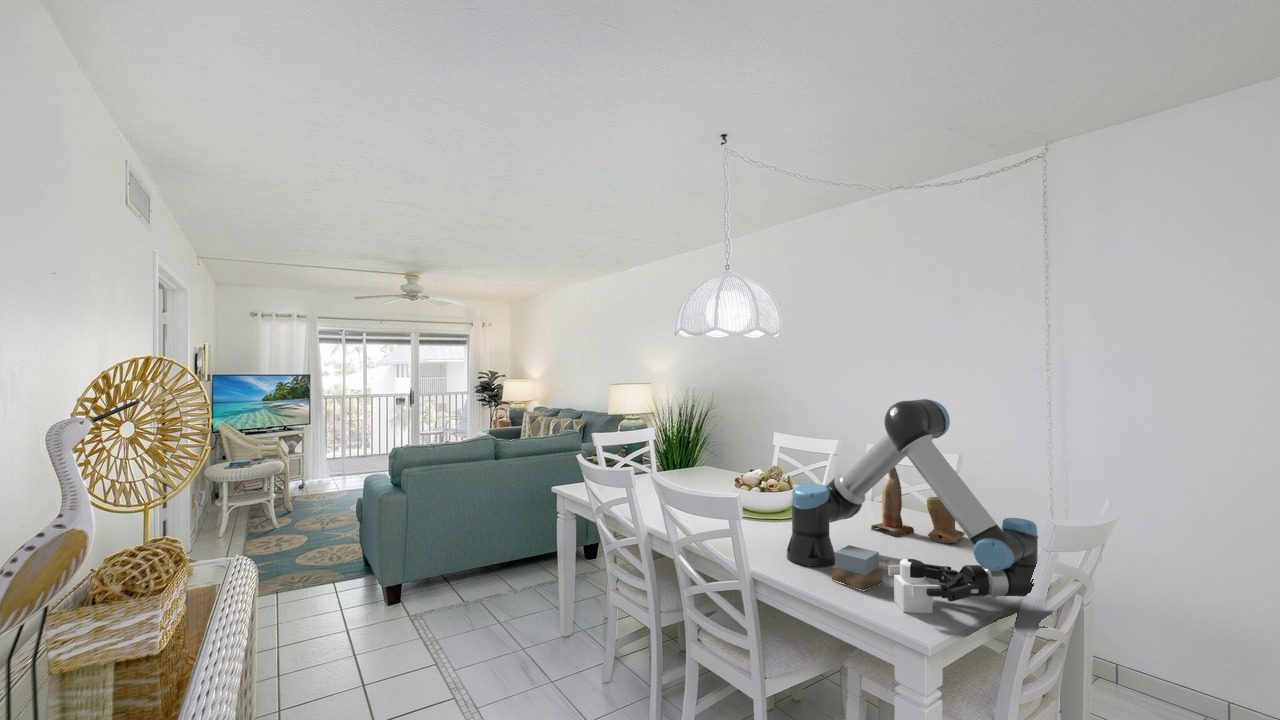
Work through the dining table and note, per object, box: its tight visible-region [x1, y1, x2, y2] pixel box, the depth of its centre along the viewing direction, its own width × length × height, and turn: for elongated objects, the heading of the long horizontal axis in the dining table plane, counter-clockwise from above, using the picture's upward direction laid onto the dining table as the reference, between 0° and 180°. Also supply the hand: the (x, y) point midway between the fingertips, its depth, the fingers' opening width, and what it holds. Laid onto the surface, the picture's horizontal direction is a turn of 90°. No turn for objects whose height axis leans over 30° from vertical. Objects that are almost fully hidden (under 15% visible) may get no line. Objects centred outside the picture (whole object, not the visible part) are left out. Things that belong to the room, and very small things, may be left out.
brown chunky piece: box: [926, 496, 966, 544], centre depth 203 cm, size 15×12×15 cm
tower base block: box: [831, 565, 884, 590], centre depth 162 cm, size 10×10×4 cm
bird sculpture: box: [870, 466, 915, 538], centre depth 212 cm, size 11×12×32 cm
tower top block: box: [834, 544, 880, 576], centre depth 162 cm, size 9×9×4 cm
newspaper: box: [879, 554, 905, 571], centre depth 179 cm, size 23×12×2 cm, turn 55°
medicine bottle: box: [893, 558, 934, 614], centre depth 145 cm, size 7×7×12 cm
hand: (899, 580), depth 145 cm, fingers open, 13 cm apart
